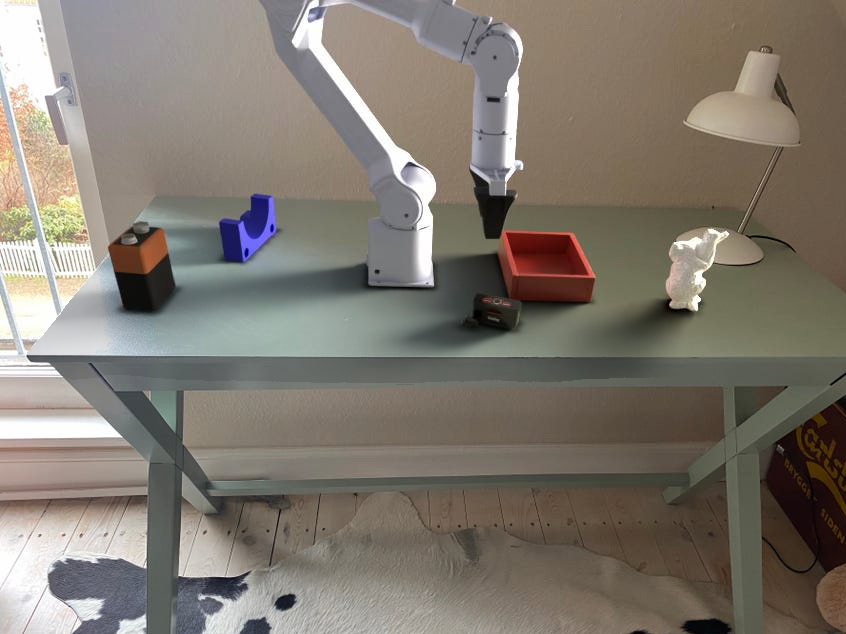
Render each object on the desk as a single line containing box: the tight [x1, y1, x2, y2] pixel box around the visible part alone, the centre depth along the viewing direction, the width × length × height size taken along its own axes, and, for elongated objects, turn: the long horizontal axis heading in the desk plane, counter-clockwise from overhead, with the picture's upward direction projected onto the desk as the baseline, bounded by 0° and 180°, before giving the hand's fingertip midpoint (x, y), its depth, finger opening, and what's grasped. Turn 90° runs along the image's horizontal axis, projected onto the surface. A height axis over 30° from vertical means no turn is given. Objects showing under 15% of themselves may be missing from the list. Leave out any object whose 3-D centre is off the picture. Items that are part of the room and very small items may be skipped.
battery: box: [107, 220, 176, 312], centre depth 85 cm, size 4×7×10 cm, turn 178°
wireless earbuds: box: [460, 292, 522, 330], centre depth 89 cm, size 5×7×3 cm, turn 75°
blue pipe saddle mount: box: [218, 193, 277, 263], centre depth 102 cm, size 12×4×6 cm, turn 171°
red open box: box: [497, 230, 596, 303], centre depth 102 cm, size 12×16×4 cm
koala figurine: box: [665, 228, 730, 312], centre depth 96 cm, size 8×7×12 cm
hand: (490, 226), depth 94 cm, fingers open, 7 cm apart
